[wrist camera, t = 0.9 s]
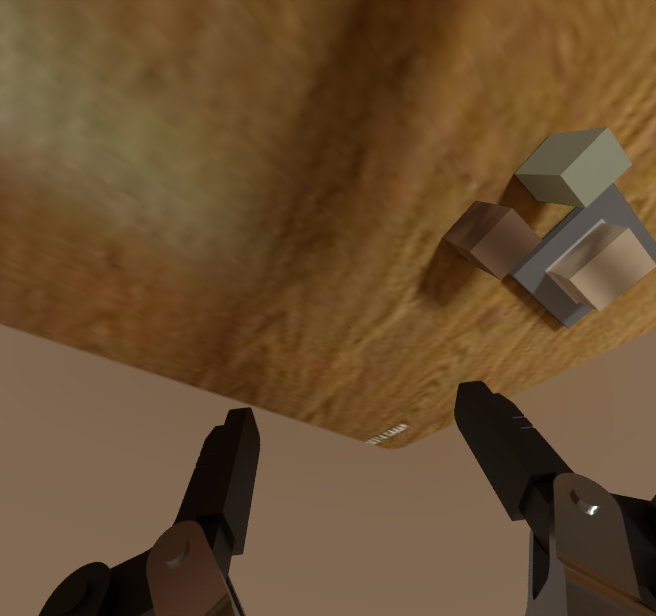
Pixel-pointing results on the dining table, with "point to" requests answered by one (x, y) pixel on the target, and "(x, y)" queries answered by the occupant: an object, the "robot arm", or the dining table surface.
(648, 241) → the plate
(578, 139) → the sage block
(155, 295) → the dining table surface
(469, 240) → the walnut block
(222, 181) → the dining table surface
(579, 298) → the maple slab
